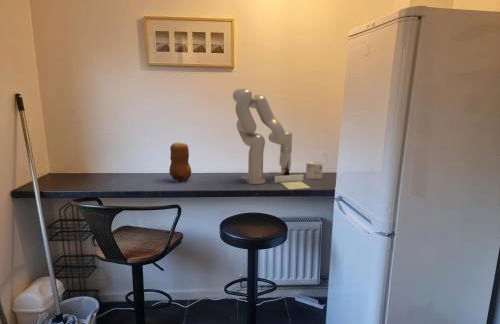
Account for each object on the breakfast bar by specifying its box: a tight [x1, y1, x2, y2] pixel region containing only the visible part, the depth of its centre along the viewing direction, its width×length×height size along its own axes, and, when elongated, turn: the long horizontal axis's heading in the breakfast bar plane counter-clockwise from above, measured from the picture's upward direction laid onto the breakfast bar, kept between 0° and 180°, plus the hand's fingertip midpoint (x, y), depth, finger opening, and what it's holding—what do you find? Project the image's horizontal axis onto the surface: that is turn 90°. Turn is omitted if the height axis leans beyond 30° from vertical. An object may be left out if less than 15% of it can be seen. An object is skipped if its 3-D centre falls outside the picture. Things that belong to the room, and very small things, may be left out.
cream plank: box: [274, 174, 304, 183], centre depth 204 cm, size 20×1×4 cm, turn 105°
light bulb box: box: [305, 161, 323, 180], centre depth 212 cm, size 11×7×11 cm, turn 84°
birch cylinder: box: [280, 166, 288, 176], centre depth 210 cm, size 6×6×8 cm
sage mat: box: [280, 181, 311, 191], centre depth 194 cm, size 14×14×1 cm
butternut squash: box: [168, 142, 192, 182], centre depth 200 cm, size 14×13×25 cm
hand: (284, 176), depth 211 cm, fingers closed on birch cylinder, 5 cm apart
